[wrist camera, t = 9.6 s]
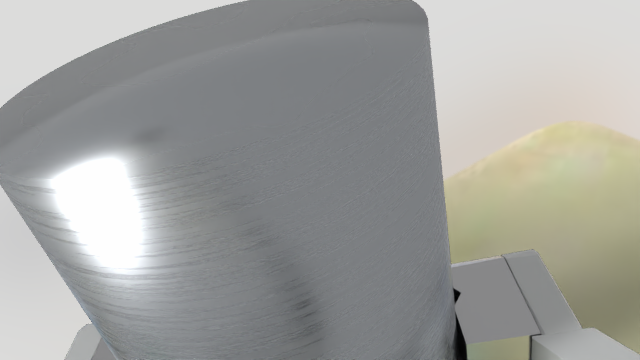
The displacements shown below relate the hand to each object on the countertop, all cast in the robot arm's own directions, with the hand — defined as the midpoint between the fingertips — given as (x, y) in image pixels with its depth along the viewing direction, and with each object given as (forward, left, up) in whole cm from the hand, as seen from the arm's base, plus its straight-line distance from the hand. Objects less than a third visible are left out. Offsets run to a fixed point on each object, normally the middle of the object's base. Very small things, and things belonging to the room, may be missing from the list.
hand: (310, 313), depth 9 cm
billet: (0, -1, -7) cm, 7 cm away
